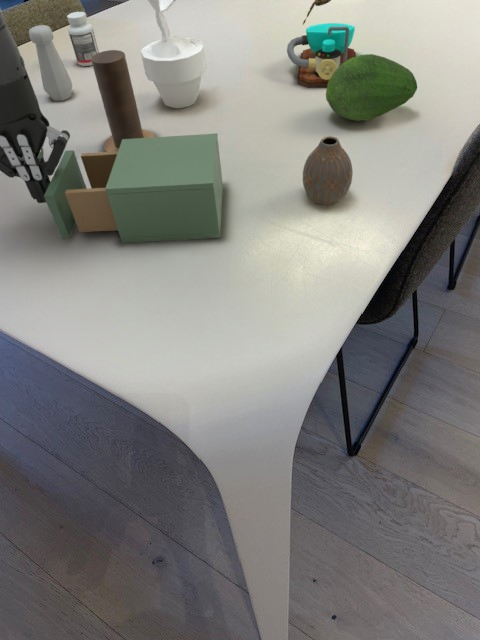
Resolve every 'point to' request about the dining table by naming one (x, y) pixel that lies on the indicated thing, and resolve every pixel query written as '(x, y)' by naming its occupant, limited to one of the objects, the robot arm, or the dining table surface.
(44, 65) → the salt shaker
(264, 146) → the dining table surface
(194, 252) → the dining table surface
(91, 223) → the drawer
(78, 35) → the pill bottle
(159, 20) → the potted plant
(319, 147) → the vase
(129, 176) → the cabinet
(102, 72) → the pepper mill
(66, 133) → the robot arm
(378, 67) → the fruit
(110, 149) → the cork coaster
